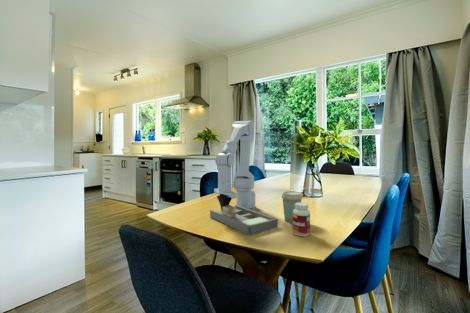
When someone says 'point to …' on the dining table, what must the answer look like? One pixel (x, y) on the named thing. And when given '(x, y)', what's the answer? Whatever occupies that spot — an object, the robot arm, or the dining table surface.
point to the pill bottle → (301, 220)
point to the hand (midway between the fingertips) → (224, 212)
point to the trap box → (246, 220)
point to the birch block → (229, 211)
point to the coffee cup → (290, 204)
